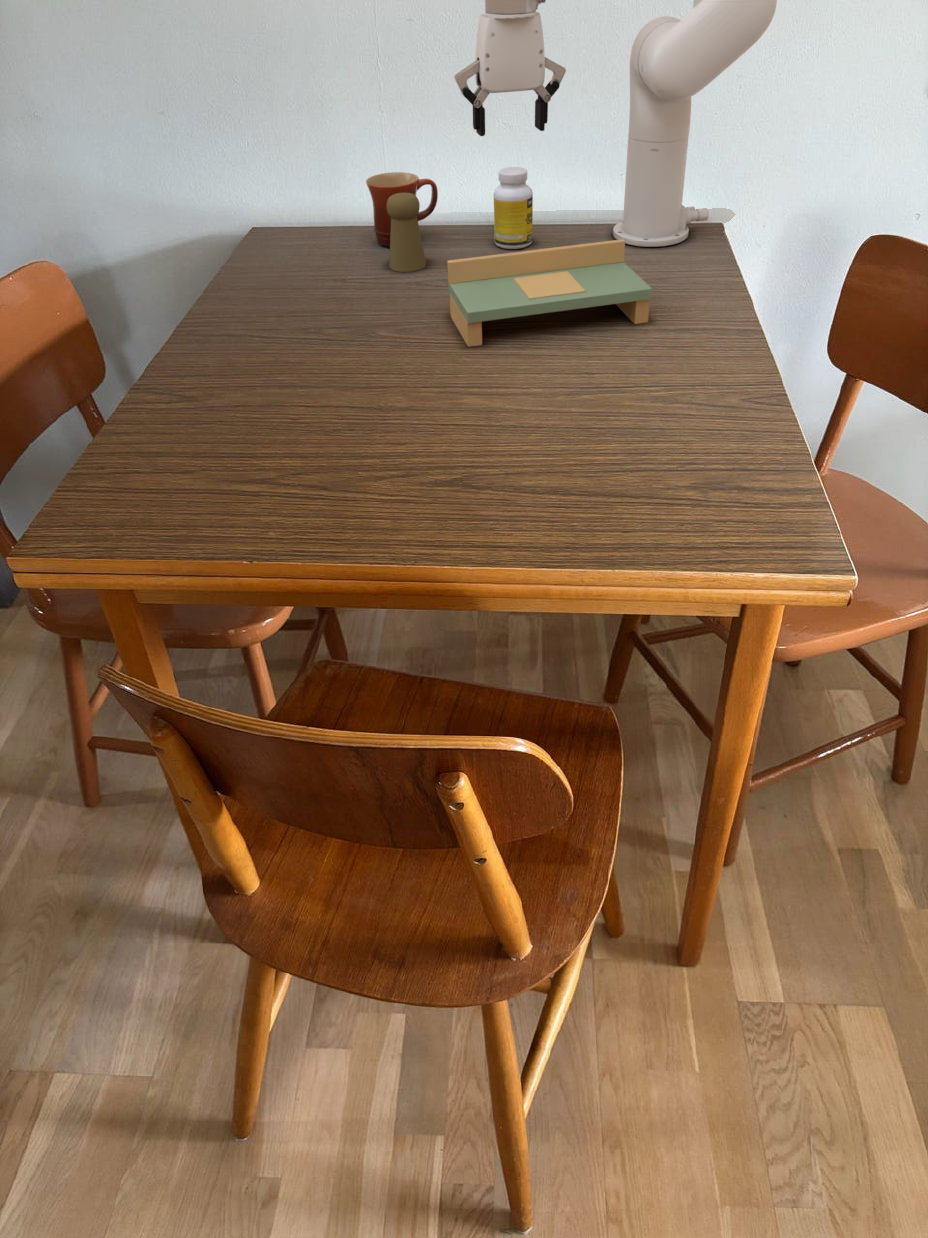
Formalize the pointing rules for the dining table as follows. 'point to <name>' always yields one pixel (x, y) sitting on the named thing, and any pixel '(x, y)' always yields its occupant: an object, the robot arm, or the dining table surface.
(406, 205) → the pepper shaker
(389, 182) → the mug
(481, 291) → the shelf
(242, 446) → the dining table surface
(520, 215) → the pill bottle
